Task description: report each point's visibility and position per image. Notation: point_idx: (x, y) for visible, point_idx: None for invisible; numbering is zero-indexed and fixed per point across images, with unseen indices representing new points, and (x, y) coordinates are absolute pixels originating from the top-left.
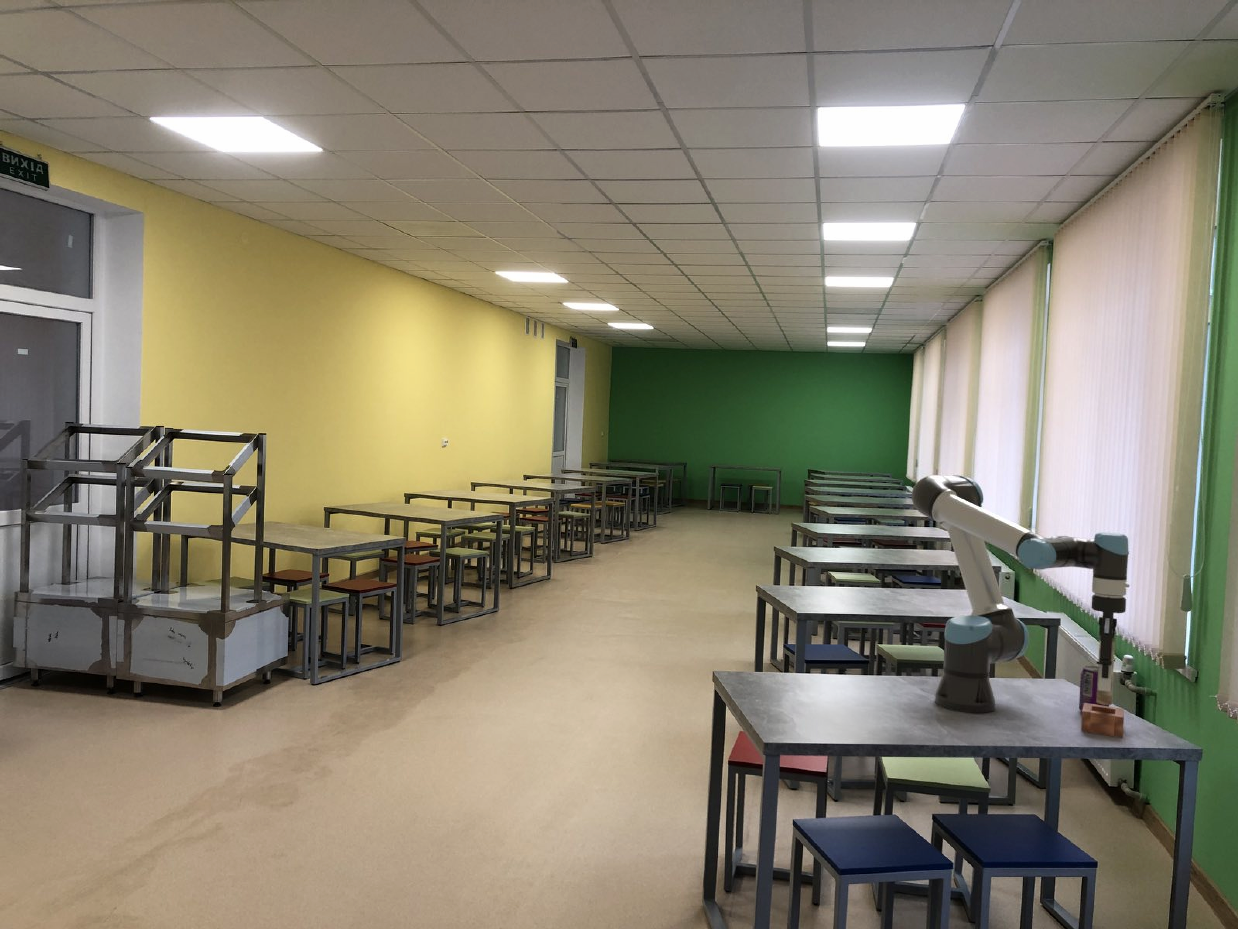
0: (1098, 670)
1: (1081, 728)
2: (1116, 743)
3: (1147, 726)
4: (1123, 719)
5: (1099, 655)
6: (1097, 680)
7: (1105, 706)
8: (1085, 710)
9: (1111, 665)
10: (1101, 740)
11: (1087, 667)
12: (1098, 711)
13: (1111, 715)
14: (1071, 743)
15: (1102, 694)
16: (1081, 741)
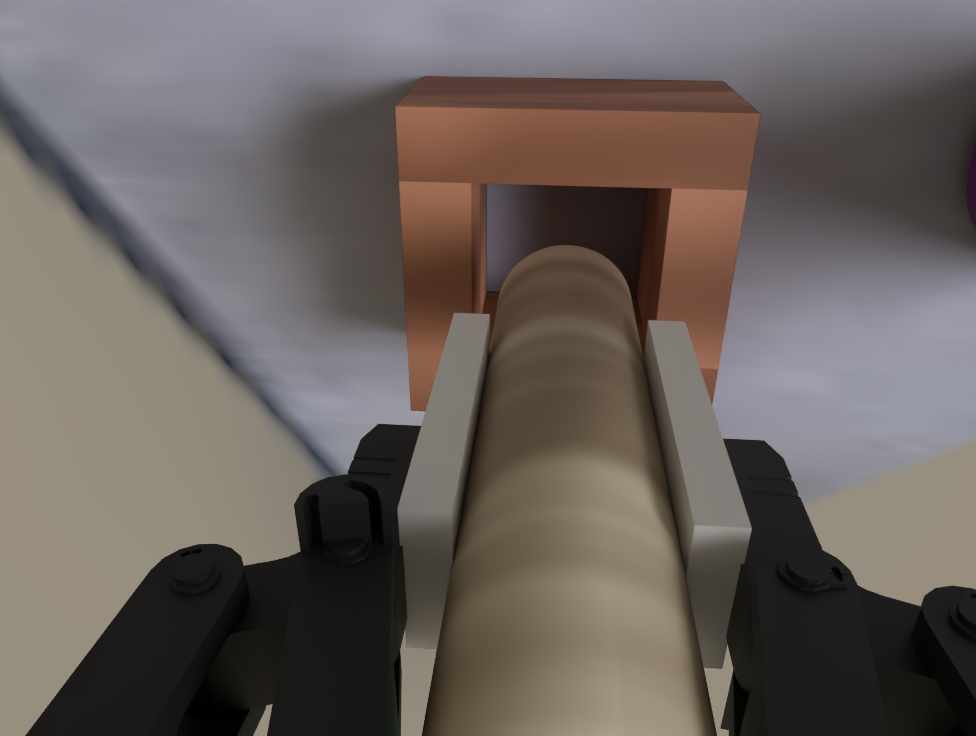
0: (528, 427)
1: (422, 80)
2: (278, 302)
3: (839, 477)
4: None
5: (498, 611)
6: (557, 345)
7: (712, 295)
8: (438, 135)
9: (417, 647)
10: (277, 217)
11: None
12: (659, 228)
13: (409, 335)
14: (29, 22)
15: (493, 333)
16: (142, 90)
